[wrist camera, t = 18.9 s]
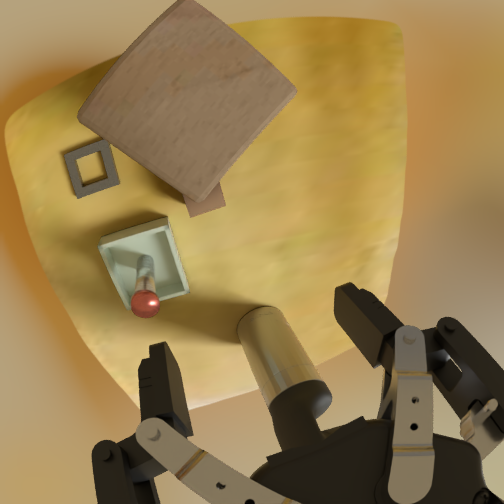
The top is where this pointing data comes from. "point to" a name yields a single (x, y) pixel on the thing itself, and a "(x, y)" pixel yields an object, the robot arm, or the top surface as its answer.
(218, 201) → the block
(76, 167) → the pin socket
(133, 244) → the tray
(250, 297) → the top surface
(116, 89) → the wooden block
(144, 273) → the pin
